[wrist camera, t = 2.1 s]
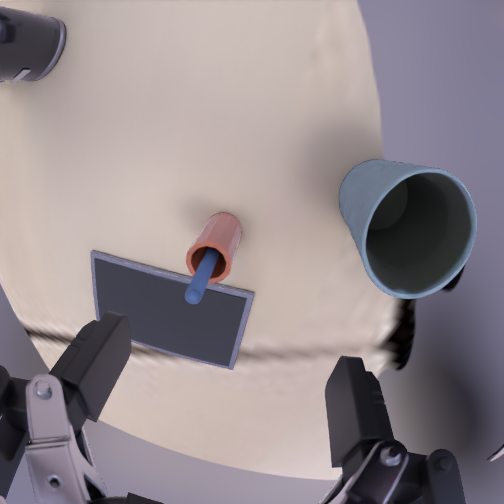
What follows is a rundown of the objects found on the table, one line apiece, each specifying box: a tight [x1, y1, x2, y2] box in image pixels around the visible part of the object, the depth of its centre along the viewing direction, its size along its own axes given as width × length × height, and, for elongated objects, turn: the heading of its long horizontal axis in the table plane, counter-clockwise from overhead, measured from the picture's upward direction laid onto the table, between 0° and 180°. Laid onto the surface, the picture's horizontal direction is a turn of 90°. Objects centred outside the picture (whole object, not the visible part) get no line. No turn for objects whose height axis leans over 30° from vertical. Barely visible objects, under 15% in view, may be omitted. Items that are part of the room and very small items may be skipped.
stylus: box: [185, 247, 220, 304], centre depth 25 cm, size 1×1×13 cm
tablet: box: [91, 250, 254, 370], centre depth 37 cm, size 22×14×1 cm, turn 78°
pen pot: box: [186, 213, 242, 283], centre depth 28 cm, size 4×4×8 cm
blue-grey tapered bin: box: [339, 159, 477, 299], centre depth 23 cm, size 10×10×12 cm
